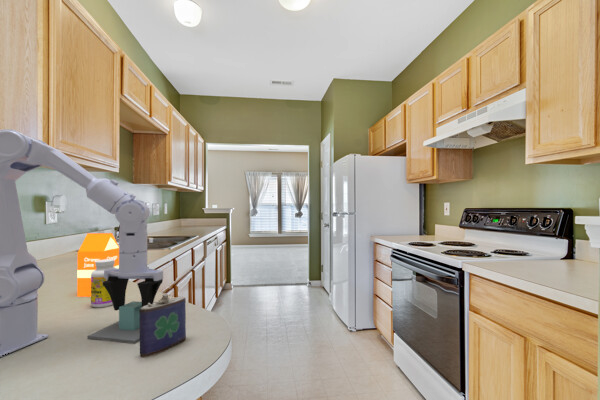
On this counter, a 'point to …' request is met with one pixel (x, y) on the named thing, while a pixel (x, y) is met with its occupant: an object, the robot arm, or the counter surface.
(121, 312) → the teal block
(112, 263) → the supplement bottle
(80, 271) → the orange juice
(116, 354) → the counter surface
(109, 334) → the mat
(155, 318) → the flask
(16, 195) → the robot arm
